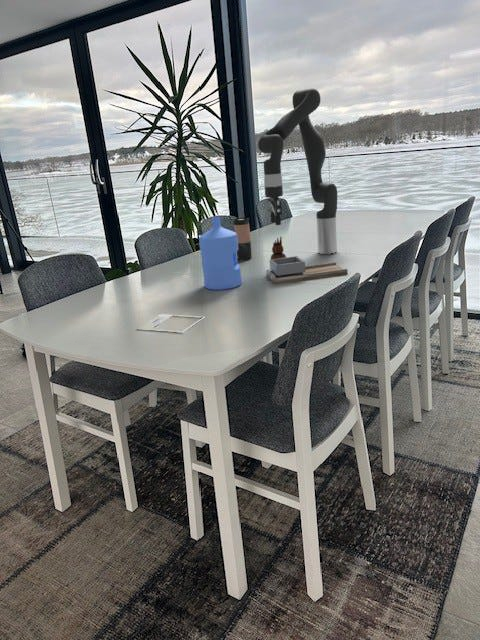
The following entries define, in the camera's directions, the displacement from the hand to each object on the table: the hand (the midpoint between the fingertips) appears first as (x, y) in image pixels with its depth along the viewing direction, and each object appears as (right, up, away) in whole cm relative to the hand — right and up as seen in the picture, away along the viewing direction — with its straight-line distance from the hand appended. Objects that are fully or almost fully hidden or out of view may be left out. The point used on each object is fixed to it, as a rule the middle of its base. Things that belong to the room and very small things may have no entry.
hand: (275, 223), depth 216 cm
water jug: (-22, -27, -9) cm, 37 cm away
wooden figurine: (+2, -20, +7) cm, 21 cm away
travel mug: (-13, -11, +35) cm, 39 cm away
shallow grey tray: (+4, -23, -8) cm, 24 cm away
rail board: (+12, -23, -6) cm, 27 cm away
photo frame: (-38, -44, -49) cm, 76 cm away
